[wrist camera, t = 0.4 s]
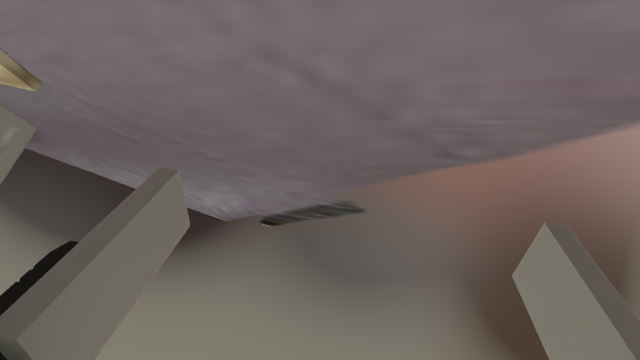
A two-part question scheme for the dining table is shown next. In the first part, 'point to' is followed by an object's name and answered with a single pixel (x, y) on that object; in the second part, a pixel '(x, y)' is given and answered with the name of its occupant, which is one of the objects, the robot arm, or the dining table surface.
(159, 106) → the dining table surface
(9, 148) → the grey tall prism
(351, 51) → the dining table surface
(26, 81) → the birch board
